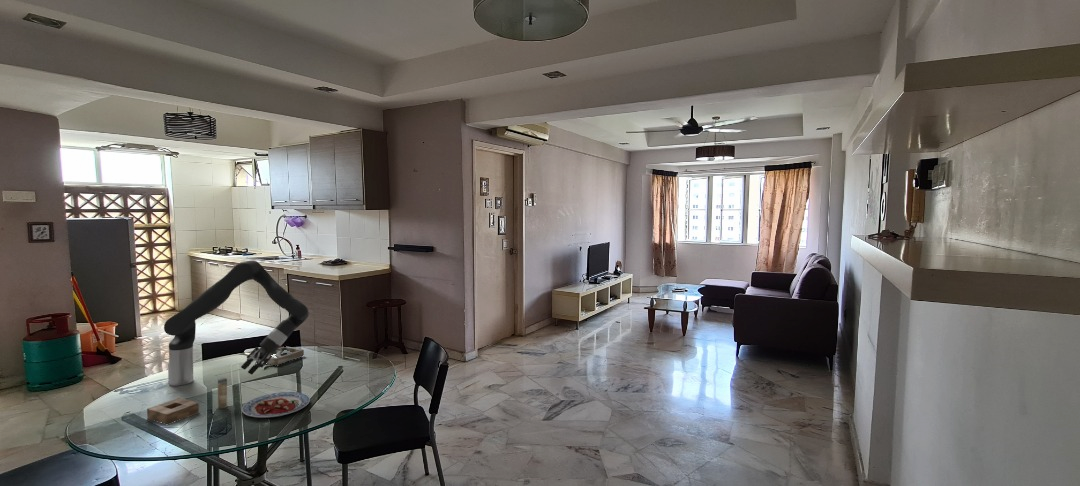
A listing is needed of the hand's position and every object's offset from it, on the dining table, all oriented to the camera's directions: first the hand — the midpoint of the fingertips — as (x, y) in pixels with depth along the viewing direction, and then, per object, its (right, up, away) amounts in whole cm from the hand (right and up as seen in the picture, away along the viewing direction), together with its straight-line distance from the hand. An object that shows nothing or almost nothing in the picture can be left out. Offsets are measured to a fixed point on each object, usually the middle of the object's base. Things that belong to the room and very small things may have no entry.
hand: (246, 370), depth 206 cm
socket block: (-20, -14, -16) cm, 29 cm away
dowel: (-6, -14, -6) cm, 16 cm away
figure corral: (-16, -9, +56) cm, 59 cm away
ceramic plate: (+16, -15, -5) cm, 23 cm away
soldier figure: (-17, -9, +55) cm, 58 cm away
